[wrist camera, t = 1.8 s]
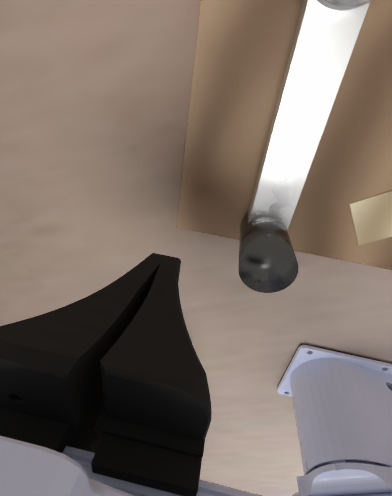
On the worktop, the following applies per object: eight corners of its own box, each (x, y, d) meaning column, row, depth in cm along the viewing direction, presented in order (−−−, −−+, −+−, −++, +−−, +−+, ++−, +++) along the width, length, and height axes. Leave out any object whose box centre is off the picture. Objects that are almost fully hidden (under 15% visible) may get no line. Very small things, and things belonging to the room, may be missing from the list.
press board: (735, -102, 10) (1027, -216, 6) (442, 270, 20) (490, 313, 16) (223, -155, 11) (213, -277, 8) (180, 218, 21) (165, 247, 17)
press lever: (417, -107, 10) (548, -256, 6) (284, 250, 19) (296, 299, 14) (313, -118, 10) (363, -269, 6) (229, 239, 19) (224, 284, 15)
